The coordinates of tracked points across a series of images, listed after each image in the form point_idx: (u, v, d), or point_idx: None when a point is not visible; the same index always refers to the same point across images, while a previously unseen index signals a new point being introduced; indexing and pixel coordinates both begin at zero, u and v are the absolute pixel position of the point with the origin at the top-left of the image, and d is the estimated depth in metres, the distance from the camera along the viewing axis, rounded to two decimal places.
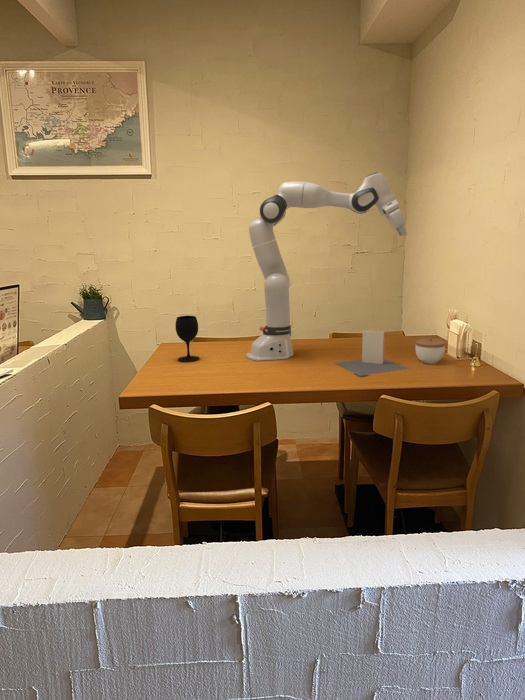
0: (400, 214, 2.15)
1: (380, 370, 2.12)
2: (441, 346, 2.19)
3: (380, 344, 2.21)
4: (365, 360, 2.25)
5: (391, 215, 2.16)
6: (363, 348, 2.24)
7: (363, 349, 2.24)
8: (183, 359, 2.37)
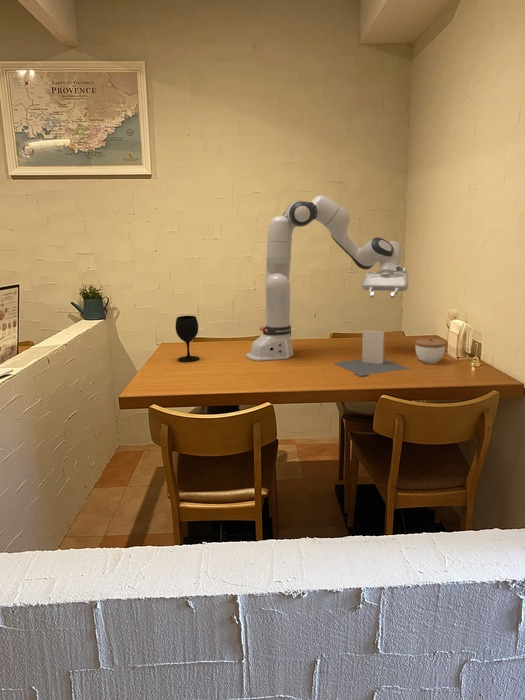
0: None
1: (380, 370, 2.12)
2: (441, 346, 2.19)
3: (380, 344, 2.21)
4: (365, 360, 2.25)
5: (406, 275, 2.28)
6: (363, 348, 2.24)
7: (363, 349, 2.24)
8: (183, 359, 2.37)
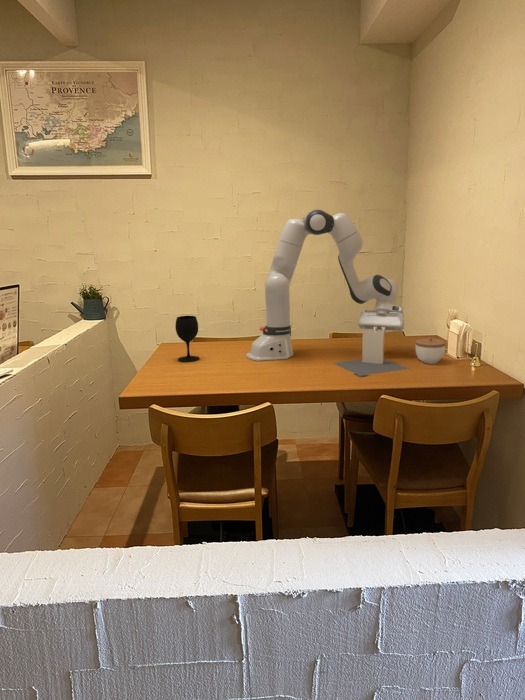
0: None
1: (380, 370, 2.12)
2: (441, 346, 2.19)
3: (380, 344, 2.21)
4: (365, 360, 2.25)
5: (402, 315, 2.28)
6: (363, 348, 2.24)
7: (363, 349, 2.24)
8: (183, 359, 2.37)
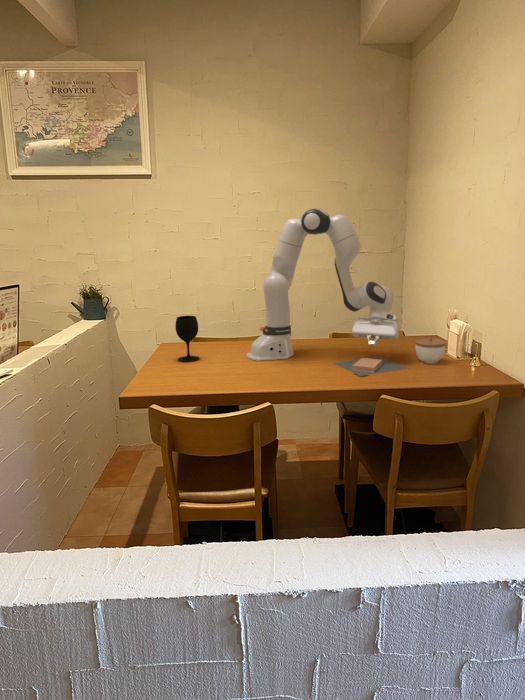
0: (398, 331, 2.22)
1: (380, 370, 2.12)
2: (441, 346, 2.19)
3: None
4: None
5: (397, 324, 2.20)
6: None
7: None
8: (183, 359, 2.37)
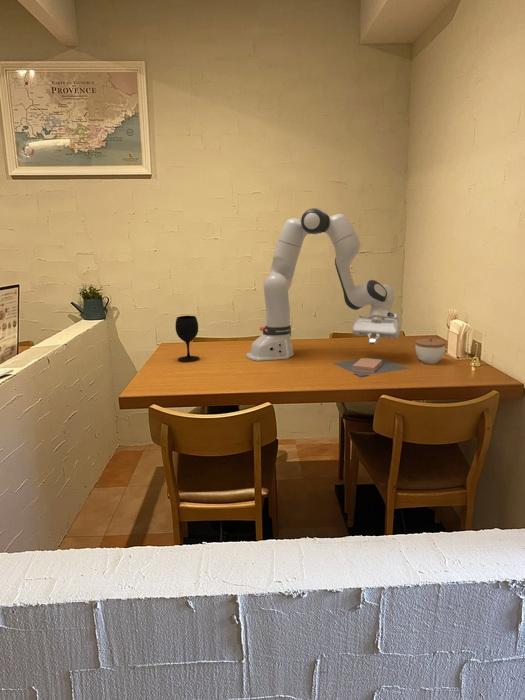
0: (399, 329, 2.22)
1: (380, 370, 2.12)
2: (441, 346, 2.19)
3: None
4: None
5: (398, 322, 2.20)
6: None
7: None
8: (183, 359, 2.37)
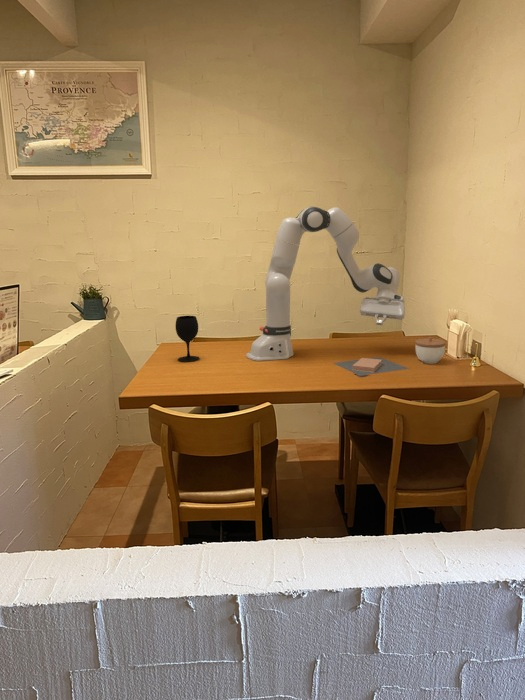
0: None
1: (380, 370, 2.12)
2: (441, 346, 2.19)
3: None
4: None
5: None
6: None
7: None
8: (183, 359, 2.37)
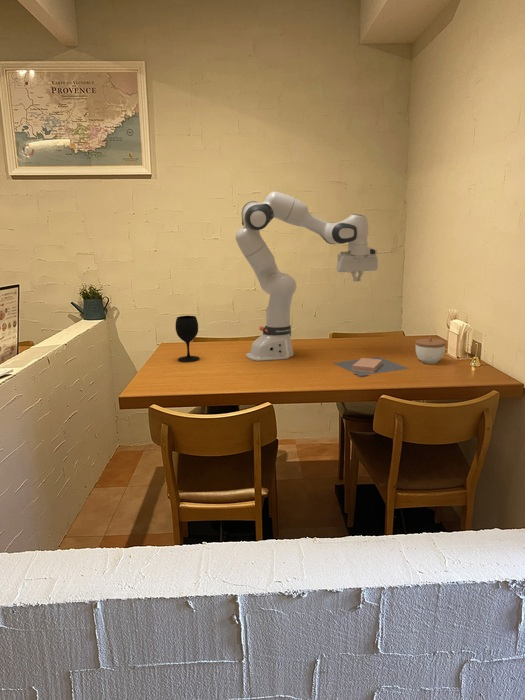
0: None
1: (380, 370, 2.12)
2: (441, 346, 2.19)
3: None
4: None
5: None
6: None
7: None
8: (183, 359, 2.37)
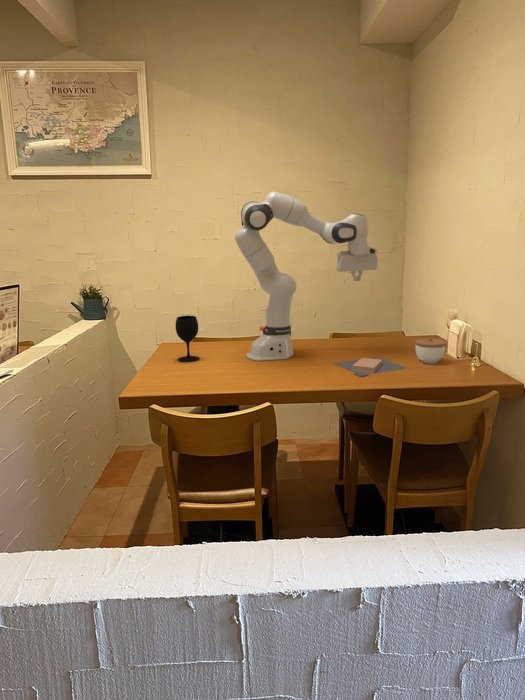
0: None
1: (380, 370, 2.12)
2: (441, 346, 2.19)
3: None
4: None
5: None
6: None
7: None
8: (183, 359, 2.37)
